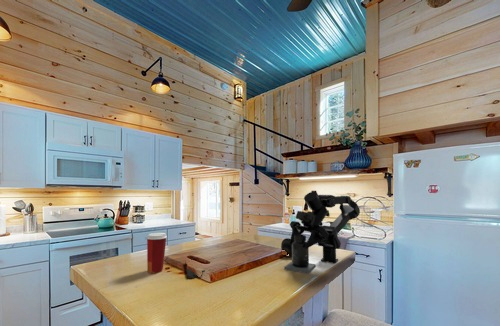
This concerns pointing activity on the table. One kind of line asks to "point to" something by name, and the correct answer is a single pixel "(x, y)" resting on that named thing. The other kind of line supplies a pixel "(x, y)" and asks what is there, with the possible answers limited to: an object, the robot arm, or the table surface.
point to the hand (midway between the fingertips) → (297, 245)
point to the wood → (191, 274)
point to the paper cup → (155, 252)
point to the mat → (300, 268)
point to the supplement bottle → (300, 252)
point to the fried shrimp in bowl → (287, 246)
